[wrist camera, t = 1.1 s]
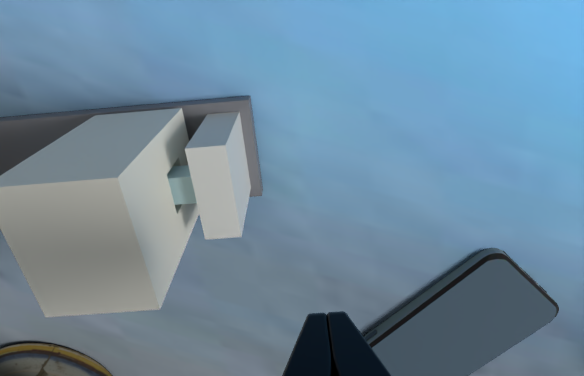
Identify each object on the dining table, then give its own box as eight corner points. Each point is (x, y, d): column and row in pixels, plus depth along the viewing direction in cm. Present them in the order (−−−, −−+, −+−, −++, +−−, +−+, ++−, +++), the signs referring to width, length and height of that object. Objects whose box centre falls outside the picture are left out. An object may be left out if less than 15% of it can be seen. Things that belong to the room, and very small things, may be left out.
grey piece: (262, 188, 21) (255, 247, 16) (-63, 214, 21) (-163, 278, 16) (250, 95, 18) (236, 131, 14) (-114, 127, 19) (-248, 172, 14)
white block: (202, 204, 20) (160, 309, 13) (125, 209, 20) (45, 317, 13) (181, 107, 17) (117, 177, 11) (94, 115, 17) (-21, 188, 11)
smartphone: (569, 314, 24) (389, 431, 28) (552, 296, 25) (383, 410, 30) (499, 248, 22) (315, 386, 26) (485, 232, 23) (313, 365, 28)
